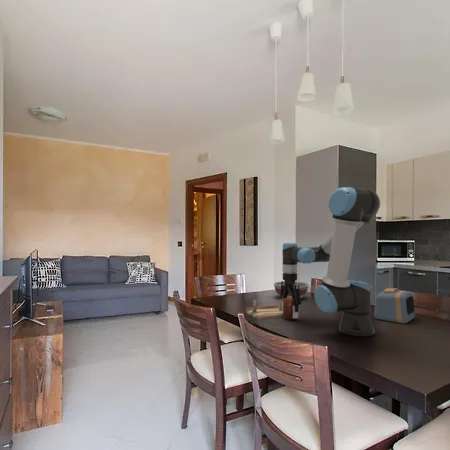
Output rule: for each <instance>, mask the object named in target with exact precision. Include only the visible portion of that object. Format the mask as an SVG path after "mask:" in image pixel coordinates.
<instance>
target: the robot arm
mask: <svg viewBox="0 0 450 450" xmlns="http://www.w3.org/2000/svg"><path fill="white" fill-rule="evenodd" d="M327 206H328V209H329V211H330V213H331V214H332V217H331V218H332V220H333V221H334V229H333V231H332V232H331V233H330V234H329V236H328V237H326V239H325V240H324V241H323V242H322V243H321V244H320V245H319V246H315V247H314V246H313V247H309V246H308V247H306V246H304V247H303V246H302V247H300V246H299V247H298V244H297V243H296V242H283V244H282V250H281V251H282V280H281V281H280V282H281V290H280V296H279V295H278V297H279V300H280V299H281V301H282V298H287V296H288V293H289V292H290V293H291V296H292V300H293V303H294V304H293V318H297V319H299V306H300V305H301V306H302V298H300V291H299V285H296V283H295V282H297V281H298V273H297V272H298V263H302V264H312V263H328V266H327V270H326V275H325V276H324V277H322V279H321V285H320V284H319V285H317V287H315V289H314V291H313V296H314V300H315V303H316V306H317V307H318V308H319V309H320V310H321V311H322V312H324V313H336V312H342V315H341V319H340V322H339V324H338V330H339V332H340V333H342V334H345V335H347V336H353V337H371V336H374V335H375V333H376V331H375V326H374V323H373V319H372V317H371V289H370V288H371V286H370V284H369V282H365V281H361V280H360V281H359V280H352V279H348V277H349V273H350V272H349V271H350V265H351V260H352V253H353V249H354V248H353V247H354V244H355V238H356V233H357V231H358V230H359V229H360V228H362V226H363V225H364V224H369V223H370V222H371V221H372V220H373V219H374V218H375V217H376V215H377V214H378V212H379V210H380V208H381V198H380V197H379V195H378V194H377V192H375V191H374V190H372V189H370V188H361V187H359V188H358V187H352V186H346V187H339V188H337V189H335V190H334V191H333V192H331V194H330V197H329V199H328V204H327ZM282 314H283V301H282Z"/></svg>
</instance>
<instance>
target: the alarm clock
mask: <svg viewBox="0 0 450 450" xmlns="http://www.w3.org/2000/svg"><path fill="white" fill-rule="evenodd" d="M415 316H416V309H415V300H414V295H413V293H412V291H409V290H400V288H395V287H394V288H393V287H392V288H391V287H390V288H389V287H388V288H385V289H384V290H382V291H380V292H379V293H378V294H377V295H376V296H375V302H374V311H373V317H374V318H375V319H376V320H379V319H380V321H386V322H392V323H397V324H398V323H400V324H408V323H409V322H411V321H412V320H413V319H414V318H415Z"/></svg>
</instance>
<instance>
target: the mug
mask: <svg viewBox="0 0 450 450" xmlns="http://www.w3.org/2000/svg"><path fill="white" fill-rule="evenodd" d="M282 301H283V317H282V318H283V319H284V320H287V321H295V320H297V319H298V318H293V304H294V303H293V300H292V297H287V298H282Z"/></svg>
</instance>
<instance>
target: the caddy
mask: <svg viewBox="0 0 450 450" xmlns="http://www.w3.org/2000/svg"><path fill="white" fill-rule="evenodd" d="M245 313H246V314H247V315H250V316H252V317H253V318H255V319H257V320H265V319H267V320H269V319H277V318H284V317H283V314H282V301H281V299H280V298H279V305H278V304H274V305H272V304H271V305H263V306H257V299H252V306H250V307H245Z"/></svg>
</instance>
